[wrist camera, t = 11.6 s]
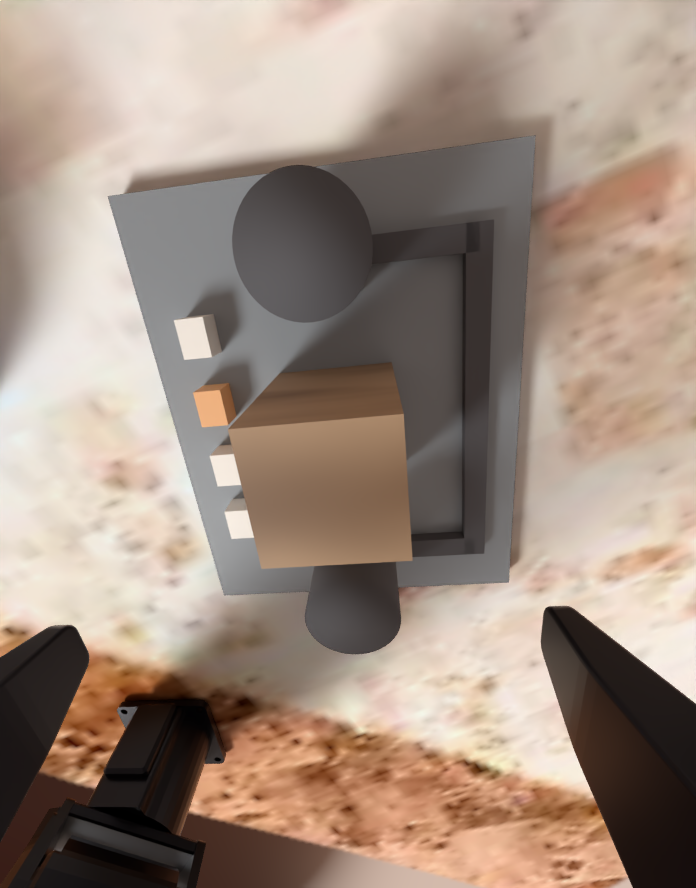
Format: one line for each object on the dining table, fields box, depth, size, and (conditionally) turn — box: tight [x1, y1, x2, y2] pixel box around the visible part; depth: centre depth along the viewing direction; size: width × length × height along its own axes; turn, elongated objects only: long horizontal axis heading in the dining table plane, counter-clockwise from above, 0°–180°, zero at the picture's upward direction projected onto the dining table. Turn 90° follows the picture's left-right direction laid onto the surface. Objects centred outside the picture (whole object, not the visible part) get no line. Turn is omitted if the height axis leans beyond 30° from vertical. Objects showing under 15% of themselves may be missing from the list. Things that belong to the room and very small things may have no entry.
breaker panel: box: [108, 135, 536, 595], centre depth 18 cm, size 20×16×2 cm
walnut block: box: [228, 362, 413, 569], centre depth 15 cm, size 5×5×7 cm
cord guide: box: [232, 165, 494, 654], centre depth 16 cm, size 18×8×5 cm, turn 7°
